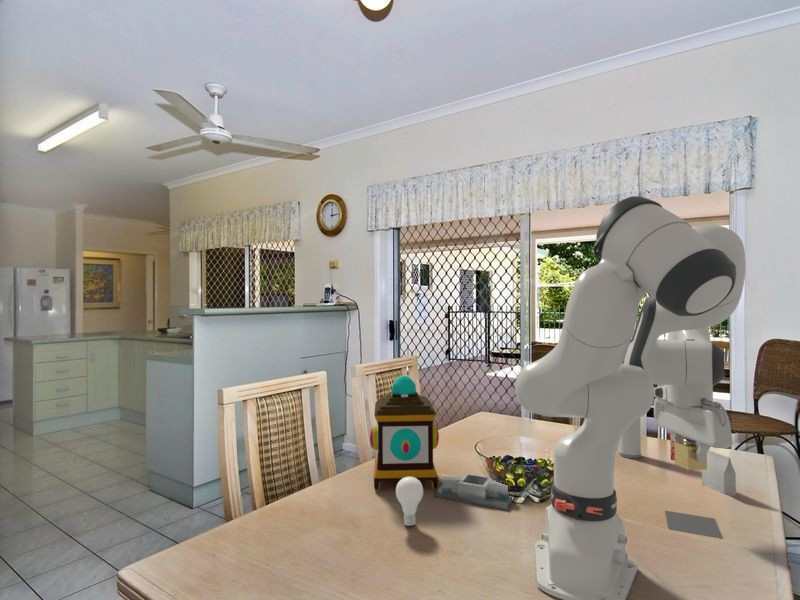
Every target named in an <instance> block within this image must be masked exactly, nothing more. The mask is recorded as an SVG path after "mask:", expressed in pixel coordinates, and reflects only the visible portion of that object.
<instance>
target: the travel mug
mask: <svg viewBox="0 0 800 600" xmlns="http://www.w3.org/2000/svg"><path fill="white" fill-rule="evenodd" d="M641 436H642V435H641V417H640V418H639V419H637V420H636V421H635V422H634V423H632V424H631V425H630V426H629V428H628V429H627V430H626V431H625V433H624V434H623V436H622V438H621V439H620V441H619V456H621V457H623V458H627V459H634V460H635V459H640V458H641V455H642V454H641V453H642V452H641V451H642V449H641V448H642V446H641V445H642V444H641V438H642V437H641Z"/></svg>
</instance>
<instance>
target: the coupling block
mask: <svg viewBox="0 0 800 600" xmlns="http://www.w3.org/2000/svg"><path fill="white" fill-rule="evenodd" d="M698 447H699V446H697V442H696V441H695V440H693V439H690V438H683V441H678V442H674V448H675V460H674V464H675V465H677V466H679V467H681V468H683V469H685V470H687V471H702V470H707V454H706V461H705V462H699V461H696V460H695V459H694V452H697V449H698Z"/></svg>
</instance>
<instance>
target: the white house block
mask: <svg viewBox="0 0 800 600" xmlns="http://www.w3.org/2000/svg"><path fill="white" fill-rule="evenodd" d="M736 475H737V474H736V470H735V468H734V467H733V463H732V460H731V458H730V457H728V456H725V455H723V454H720V453H717V452H714V451H711V450H710V449H709V450H708V452H707V470H701V486H702V487H707V488H709V489H712V490H714V491H716V492H718V493H720V494H722V495H727V496H729V497H736V496H737V493H736V492H737V479H736V478H737V477H736Z"/></svg>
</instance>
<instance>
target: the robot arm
mask: <svg viewBox="0 0 800 600" xmlns="http://www.w3.org/2000/svg"><path fill="white" fill-rule="evenodd" d="M595 239H596V242H595V243H594V244H593V247H592V251H593V255H594V257H595V258H594V259H595V260H596V261H597V262H598V263H597V264H596V265H593V266H590V267H589V268H587V269H585V270H584V271H582V273H581V274H580V275H579V276H578V277H577V279H576V281H575V283H574V285H573V287H572V289H571V292H570V295H569V297H568V301H567V304H566V308H565V312H564V317H563V324H562V329H561V332H560V336H559V339H558V342H557V344H556V345H555V346H554V347H553V349H552V350H550V351H549V352H548V353H547V354H546V355H544V356H543V357H541V358H540V359H537V360H535V361H533V362H531V363H527V364H525V365H524V366H523V367H522V368H521V369H520V370H519V372H518V374H517V376H516V378H515V388H514V389H515V391H514V392H515V396H516V398H517V401H518V403H519V405H520V406H521V407H522V408H523V409H524V410H525V411H526V412H528V413H532V414H537V415H540V416H544V417H549V418H551V417H552V418H575V419H576V418H578V419H579V418H580V419H584V420H583V423H582V425H581V426H579V427H578V429H577V430H575V431H573V432H571V433H568V434H566V435H564V436H563V437H561V438H560V439H559V440H557V442H556V443H555V445H554V448H553V481H552V482H551V490H550V495H551V503H550V505H548V506H547V507H545V533H544V532H543V533H542V534H541V539H542V540H538V541H535V543H534V556H535V557H534V558H535V560H534V561H535V573H536V575H535V576H536V586H537V588H539V590H541V591H543V592H544V593H546V594H548V595H550V596H553V597H555V598H557V599H561V600H626V599H627V597H628V595H629V593H630V590H631V588H632V585H633V584H634V580H635V577H636V576H637V572H638V570H639V569H638V564H637V563H636V561H634V560H633V559H631V558H629V557H628V552H627V541H628V539H627V535H626V524H625V521H624V520H623V519H622V518H621V517H620V516H619V515H618V513H617V511H618V509H617V507H618V506H617V505H618V498H617V491H616V489H615V485H614V483H615V482H614V481H615V463H616V460H615V459H616V453H617V451H618V450H617V449H618V446H619V445H620V442H619V441H620V439H621V438H622V436H623V434H624V433H625V431H626V430H627V429H628V428H629V426H630V425H631V424H632V423H634V422H635V421H636V420H637V419H639V418H640V419H641V418H642V417H643V416H645V415H646V414H647V413H648V412H649V411H650V410H651V408H652V406H653V419H654V422H655V424H656V426H657V427H660V428H663V429H665V430H668V431H669V432H670V431H672V437H673V440H674V442H678V441H683V437H684V436H685V437H688V438H690V439H693V440H695V441H696V442H697V446H699V447H698V449H697V452H694V459H695V460H696V461H699V462H705V461H706V454H707V452H708V450H709V451H710V449H711V448H713V449H728V448H730V447H731V445H732V444H733V442H732V441H733V437H732V428H731V422H730V418H729V416H728V413H727V409H725V408H724V406H723V405H722V404H721V402H717V401H714V391H713V390H714V388H713V387H714V386H716V385H717V384H719V383H721V381H723V380H724V379H725V378H726V371H725V355H726V352H725V351H724V350H723V349H722V348H721V347H720V346H718V345H717V344H715V343H714V342H712V341H711V336H710V331H709V328H710V327H714V326H717V325H718V324H721V323H723V322H724V321H726V320H728V318H729V317H730V316H731V315H732V314H733V313H734V312H735V311H736V309H737V307H738V306H739V304H740V300H741V298H742V293H743V291H744V290H743V289H744V286H745V278H746V264H747V263H746V253H745V245H744V243H743V240H742V239H741V237H740V236H739V235H738V234H737V233H736V232H735V231H733V230H731V229H730V228H729V227H728V228H727V227H725V226H721V225H718V224H717V225H715V224H705V225H701V226H700V225H699V226H695V227H693V226H692V225H691V224H690V223H688V222H687V221H685V220H684V219H683V218H681V217H680V216H678V215H677V214H675V213H673V212H672V211H670V210H668V209H666V208H664V207H663V206H662V205H661V203H659V202H656V201H655V200H653V199H650V198H648V197H645V196H644V197H643V196H639V195H638V196H637V195H634V196H628V197H626V198H624V199H622V200H620V201H618V202H617V203H615V204H614V205H612V207H610V208H609V209H608V210H607V211H606V212H605V214H604V216H603V218H602V219H601V221H600V224H599V226H598V228H597V232H596V237H595ZM646 294H648V295H649V296H648V297H646V299H645V300H644V302H643V304H642V306H641V308H640V312H639V304H640V303H641V301H642V300H643V298H644V297H645V296H646ZM638 313H639V314H638ZM665 334H666V335H667V339H659V337H660V336H663V335H665ZM654 385H661V386H657V387H655V386H654Z"/></svg>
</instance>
